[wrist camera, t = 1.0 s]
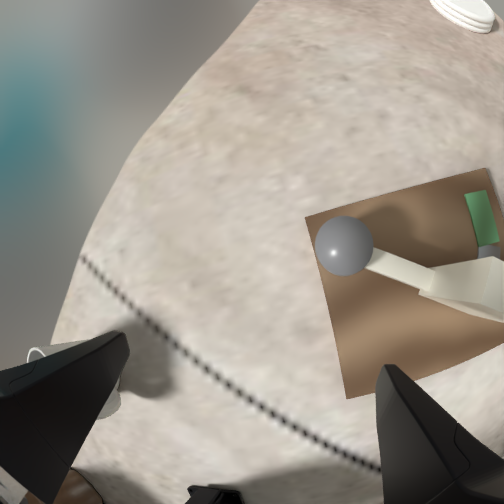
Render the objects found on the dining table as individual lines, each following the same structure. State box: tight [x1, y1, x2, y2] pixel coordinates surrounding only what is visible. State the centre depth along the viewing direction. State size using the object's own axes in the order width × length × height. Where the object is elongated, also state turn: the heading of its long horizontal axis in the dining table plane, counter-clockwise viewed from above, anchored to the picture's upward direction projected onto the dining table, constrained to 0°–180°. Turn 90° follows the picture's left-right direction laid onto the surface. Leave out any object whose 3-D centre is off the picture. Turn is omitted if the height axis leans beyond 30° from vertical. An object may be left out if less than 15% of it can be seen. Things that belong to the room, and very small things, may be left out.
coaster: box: [430, 0, 495, 33], centre depth 17 cm, size 10×10×4 cm
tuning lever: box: [315, 216, 504, 323], centre depth 13 cm, size 16×4×10 cm, turn 69°
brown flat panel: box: [305, 168, 504, 399], centre depth 18 cm, size 14×17×2 cm
